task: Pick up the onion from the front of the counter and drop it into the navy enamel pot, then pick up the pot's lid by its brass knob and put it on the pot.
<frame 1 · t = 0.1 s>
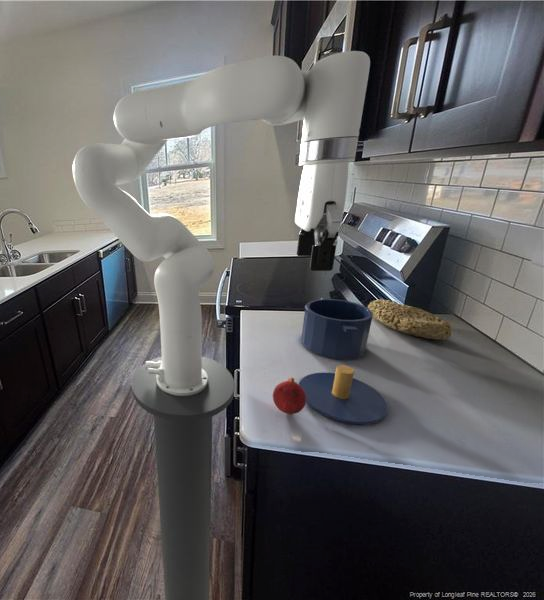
hand: (312, 262, 55), 29 cm above the countertop, tool pointing down, fingers open, 9 cm apart
lid: (339, 396, 65), point 1 cm above the countertop
pot: (331, 345, 84), on the countertop
sponge: (404, 329, 90), on the countertop
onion: (287, 413, 62), on the countertop
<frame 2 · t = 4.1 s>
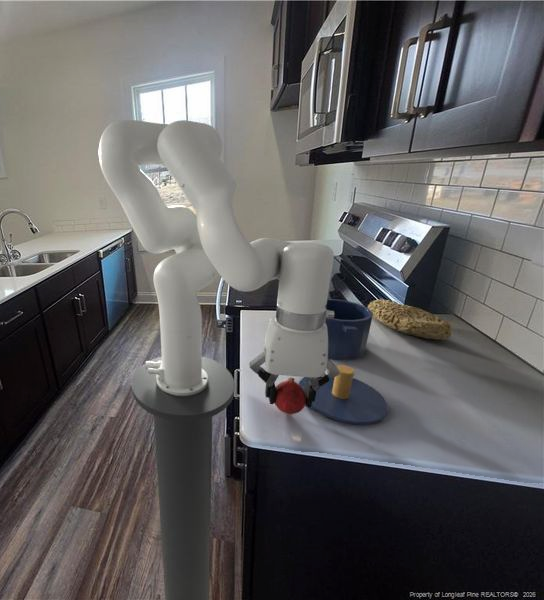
hand: (288, 400, 61), 3 cm above the countertop, tool pointing down, fingers closed on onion, 5 cm apart
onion: (287, 413, 62), on the countertop, touching gripper
everything else where it was.
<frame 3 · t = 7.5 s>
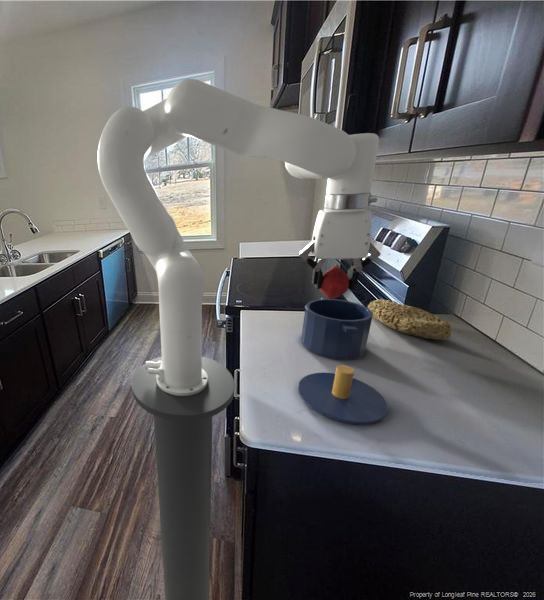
hand: (333, 286, 70), 20 cm above the countertop, tool pointing down, fingers closed on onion, 5 cm apart
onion: (331, 299, 71), point 17 cm above the countertop, touching gripper
everything else where it was.
when the fingers open (11 cm above the countertop, at t = 10.8 s): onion drops 6 cm, resting on pot.
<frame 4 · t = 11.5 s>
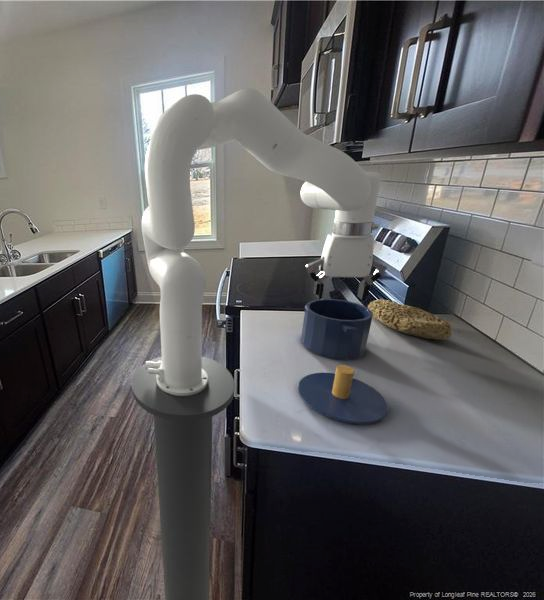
hand: (339, 297, 80), 14 cm above the countertop, tool pointing down, fingers open, 9 cm apart
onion: (333, 341, 84), point 1 cm above the countertop, touching pot
everything else where it was.
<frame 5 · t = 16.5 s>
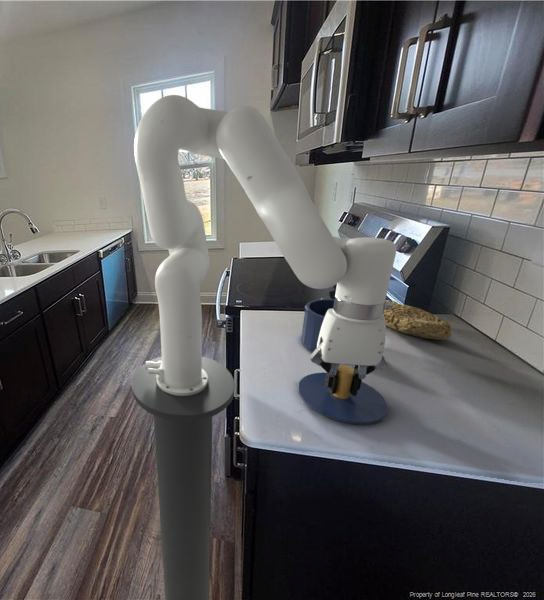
hand: (341, 389, 64), 2 cm above the countertop, tool pointing down, fingers closed on lid, 3 cm apart
lid: (340, 396, 65), point 1 cm above the countertop, touching gripper
everything else where it was.
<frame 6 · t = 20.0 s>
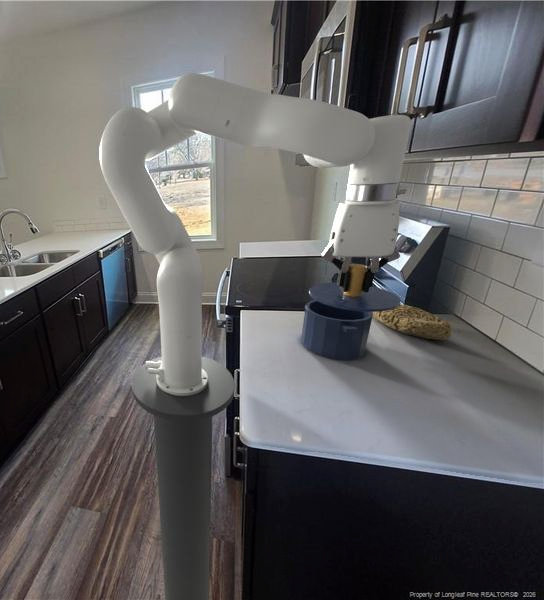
hand: (353, 289, 64), 21 cm above the countertop, tool pointing down, fingers closed on lid, 3 cm apart
lid: (351, 296, 64), point 20 cm above the countertop, touching gripper
everything else where it was.
when the fingers open (12 cm above the countertop, at t = 23.9 s): lid stays where it is, resting on pot.
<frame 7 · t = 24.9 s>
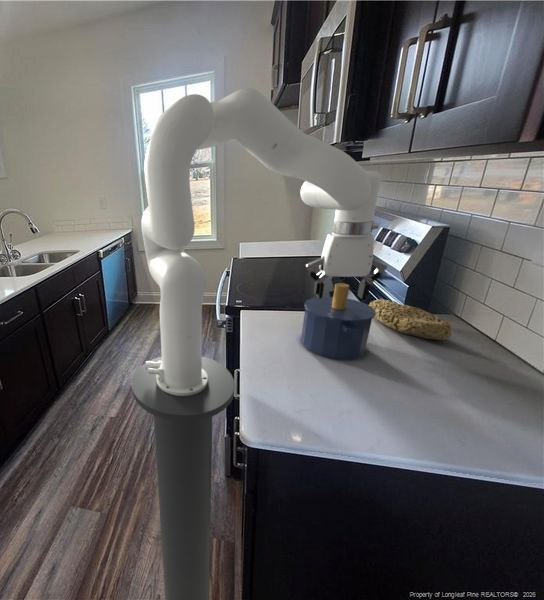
hand: (339, 297, 80), 14 cm above the countertop, tool pointing down, fingers open, 9 cm apart
lid: (338, 309, 81), point 10 cm above the countertop, touching pot
everything else where it was.
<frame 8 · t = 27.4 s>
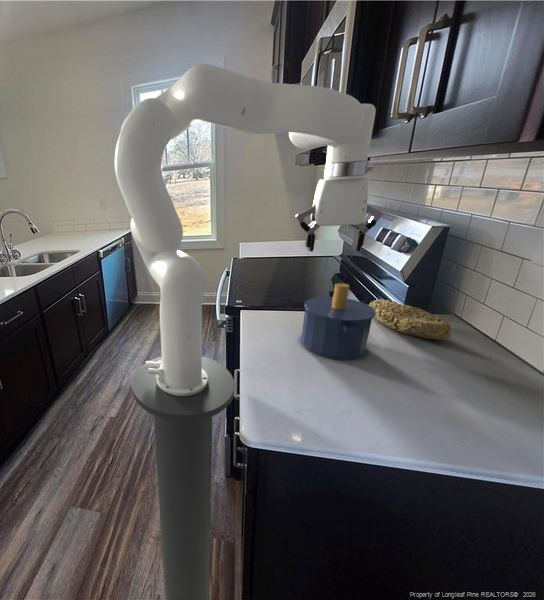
hand: (332, 250, 74), 26 cm above the countertop, tool pointing down, fingers open, 9 cm apart
nothing on the countertop moved.
at the end: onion inside the target area in the pot (0.4 cm from its centre), point 1.3 cm above the pot's base; lid 0.0 cm off-centre on the pot, point 10.5 cm above the pot's base; lid tilted 0° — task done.
